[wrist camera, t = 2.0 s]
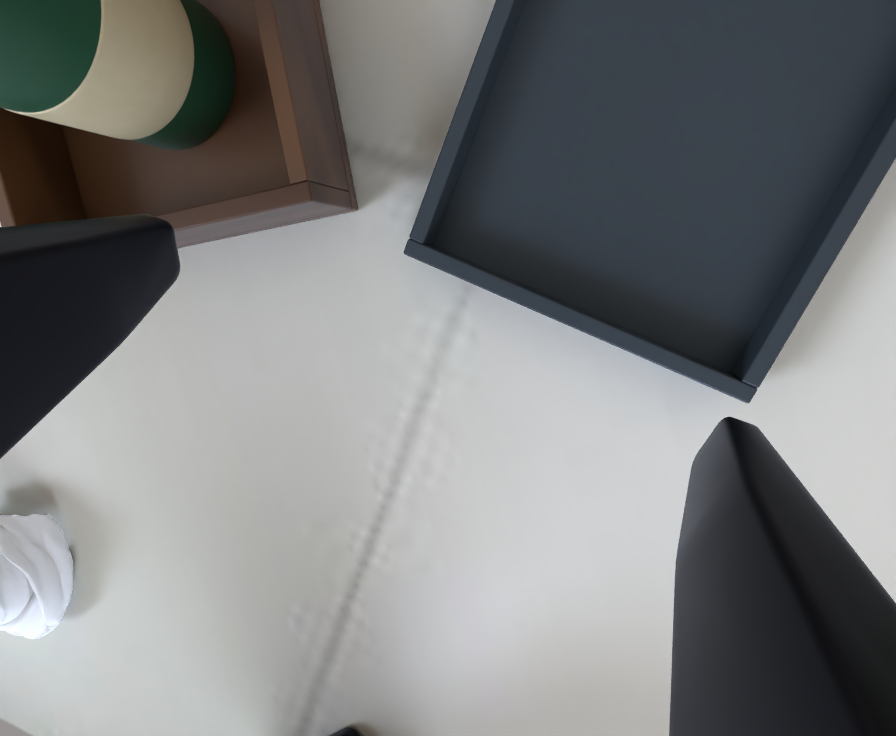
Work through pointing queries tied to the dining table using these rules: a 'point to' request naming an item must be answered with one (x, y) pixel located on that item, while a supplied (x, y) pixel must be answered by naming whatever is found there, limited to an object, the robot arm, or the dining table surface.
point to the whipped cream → (33, 575)
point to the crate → (203, 145)
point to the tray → (666, 168)
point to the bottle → (118, 67)
